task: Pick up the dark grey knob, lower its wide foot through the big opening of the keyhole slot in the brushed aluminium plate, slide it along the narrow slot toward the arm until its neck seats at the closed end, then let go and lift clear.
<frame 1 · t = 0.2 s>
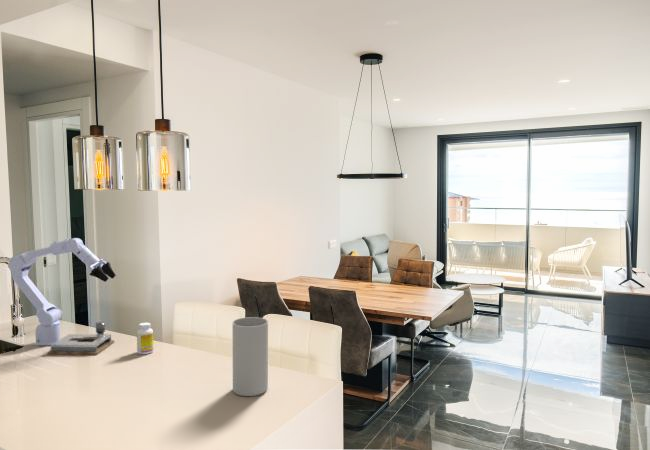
hand: (110, 278, 216), 31 cm above the counter, tool tilted 45°, fingers open, 7 cm apart
supplement bottle: (145, 352, 206), on the counter
keyhole board: (80, 348, 211), on the counter
cylinder vase: (250, 390, 168), on the counter
keyhole plate: (82, 342, 211), on the keyhole board, point 2 cm above the counter
dark grey knob: (100, 339, 224), on the counter
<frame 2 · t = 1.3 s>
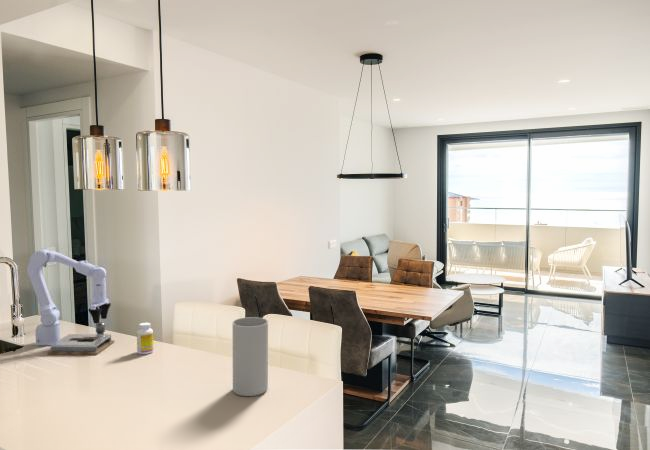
hand: (100, 320, 223), 9 cm above the counter, tool pointing down, fingers open, 7 cm apart
nothing on the counter moved.
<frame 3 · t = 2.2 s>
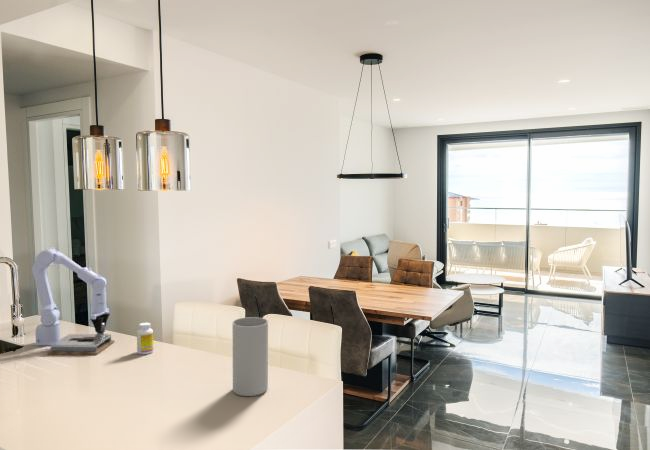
hand: (100, 330, 224), 4 cm above the counter, tool pointing down, fingers closed on dark grey knob, 4 cm apart
dark grey knob: (100, 339, 224), on the counter, touching gripper
everything else where it was.
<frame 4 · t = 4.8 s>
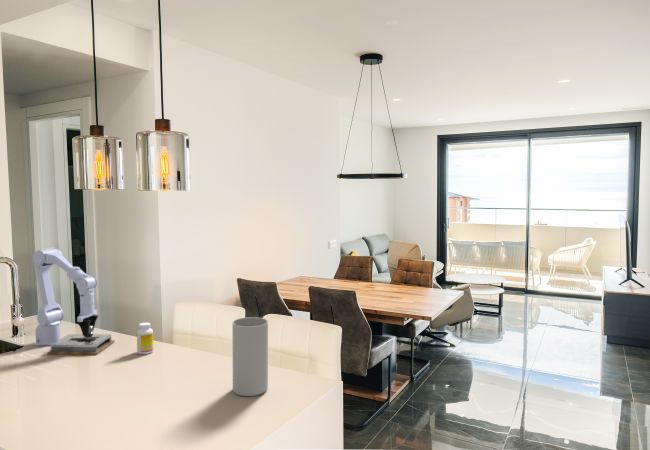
hand: (88, 333, 210), 7 cm above the counter, tool pointing down, fingers closed on dark grey knob, 4 cm apart
dark grey knob: (88, 343, 211), point 2 cm above the counter, touching gripper
everything else where it was.
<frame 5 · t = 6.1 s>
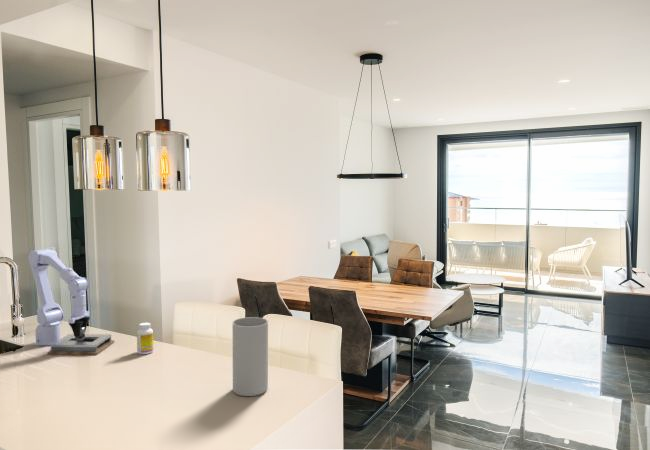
hand: (79, 334, 210), 6 cm above the counter, tool pointing down, fingers closed on dark grey knob, 4 cm apart
dark grey knob: (80, 344, 211), point 1 cm above the counter, touching gripper
everything else where it was.
when the fingers open (6 cm above the counter, at t = 7.1 s): dark grey knob stays where it is, resting on keyhole board.
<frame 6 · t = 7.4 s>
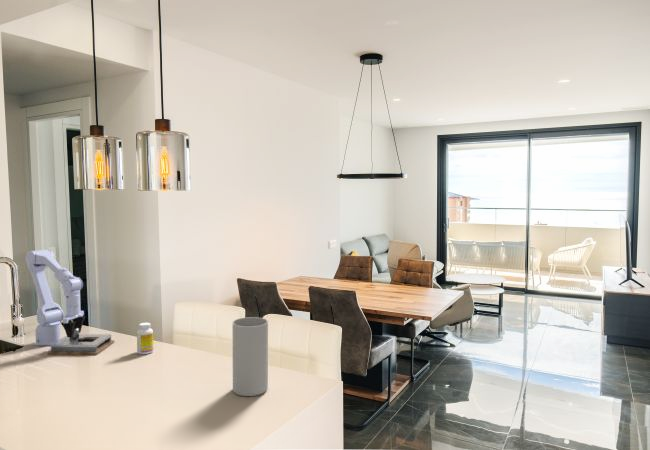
hand: (74, 334, 210), 6 cm above the counter, tool pointing down, fingers open, 6 cm apart
dark grey knob: (74, 346, 211), point 1 cm above the counter, touching keyhole board
everything else where it was.
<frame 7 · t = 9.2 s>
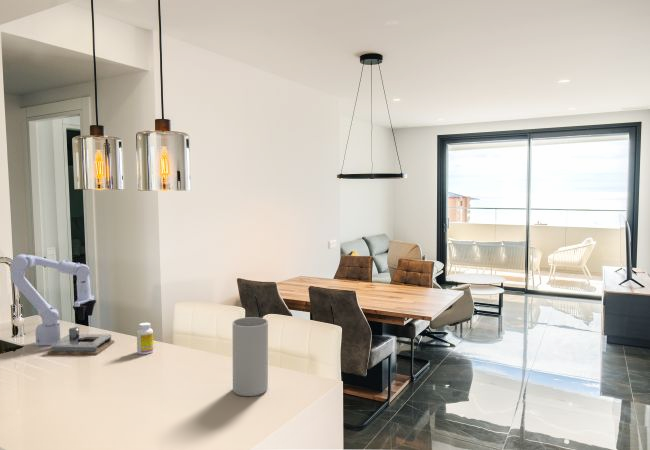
hand: (85, 317, 223), 10 cm above the counter, tool pointing down, fingers open, 7 cm apart
nothing on the counter moved.
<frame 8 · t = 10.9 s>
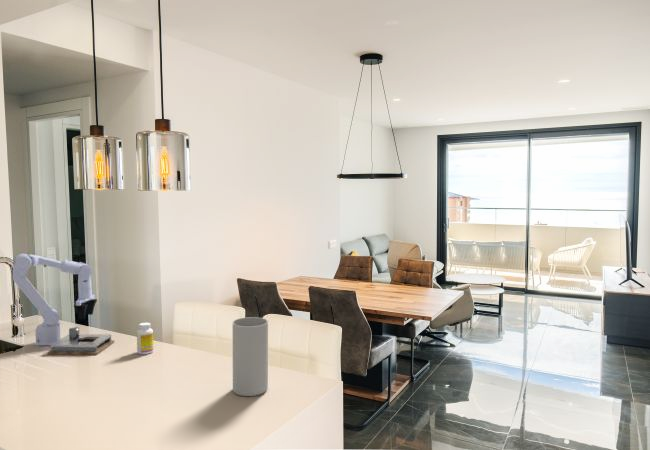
hand: (86, 316, 225), 10 cm above the counter, tool pointing down, fingers open, 7 cm apart
nothing on the counter moved.
at the end: dark grey knob 0.3 cm from the target spot on the keyhole plate, point 1.0 cm above the keyhole plate's base; dark grey knob tilted 0°; the gripper is holding nothing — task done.
